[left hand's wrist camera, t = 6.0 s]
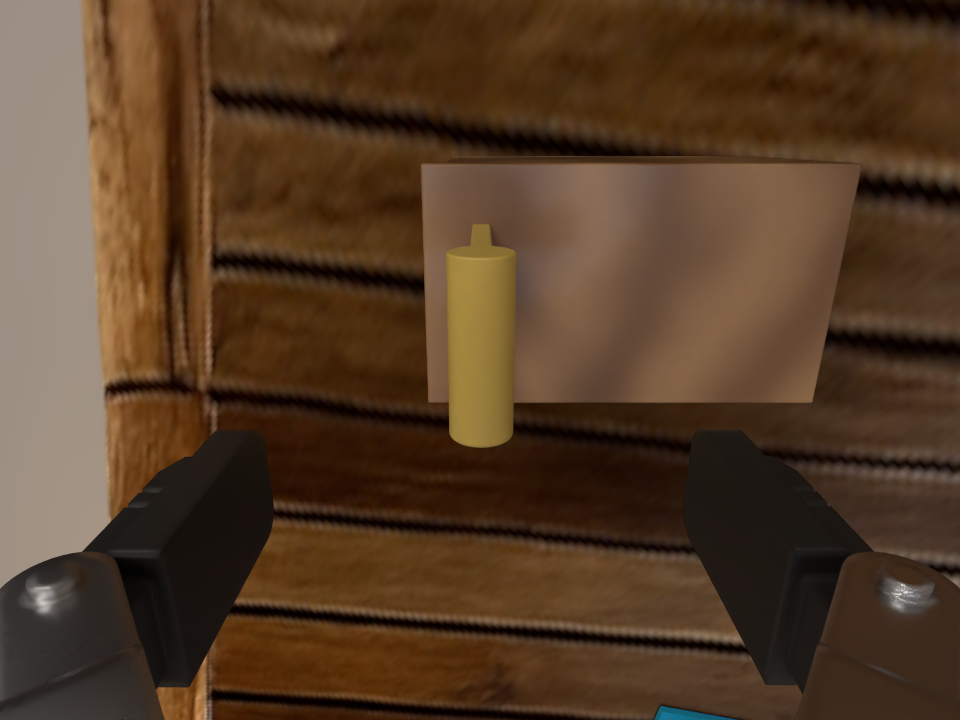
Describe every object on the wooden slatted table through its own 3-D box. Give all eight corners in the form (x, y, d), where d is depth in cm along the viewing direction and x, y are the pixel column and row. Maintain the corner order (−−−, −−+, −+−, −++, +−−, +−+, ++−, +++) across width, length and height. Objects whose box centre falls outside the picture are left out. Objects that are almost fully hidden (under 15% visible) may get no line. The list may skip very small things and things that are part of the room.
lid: (430, 394, 27) (407, 508, 19) (422, 162, 24) (390, 175, 15) (801, 394, 27) (945, 509, 19) (848, 162, 24) (1050, 175, 15)
